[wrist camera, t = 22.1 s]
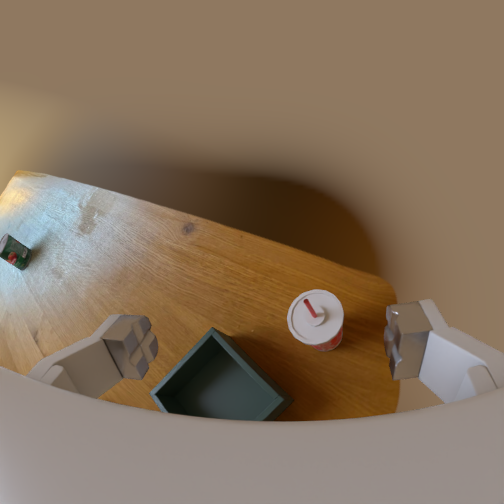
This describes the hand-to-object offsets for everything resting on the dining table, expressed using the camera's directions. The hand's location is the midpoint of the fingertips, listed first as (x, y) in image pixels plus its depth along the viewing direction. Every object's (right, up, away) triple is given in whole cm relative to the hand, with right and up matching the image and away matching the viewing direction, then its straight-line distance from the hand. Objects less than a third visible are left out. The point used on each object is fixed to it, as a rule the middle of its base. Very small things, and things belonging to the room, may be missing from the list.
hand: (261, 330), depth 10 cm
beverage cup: (+10, -8, +29) cm, 32 cm away
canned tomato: (-76, 0, +70) cm, 103 cm away
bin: (-4, -18, +29) cm, 34 cm away
